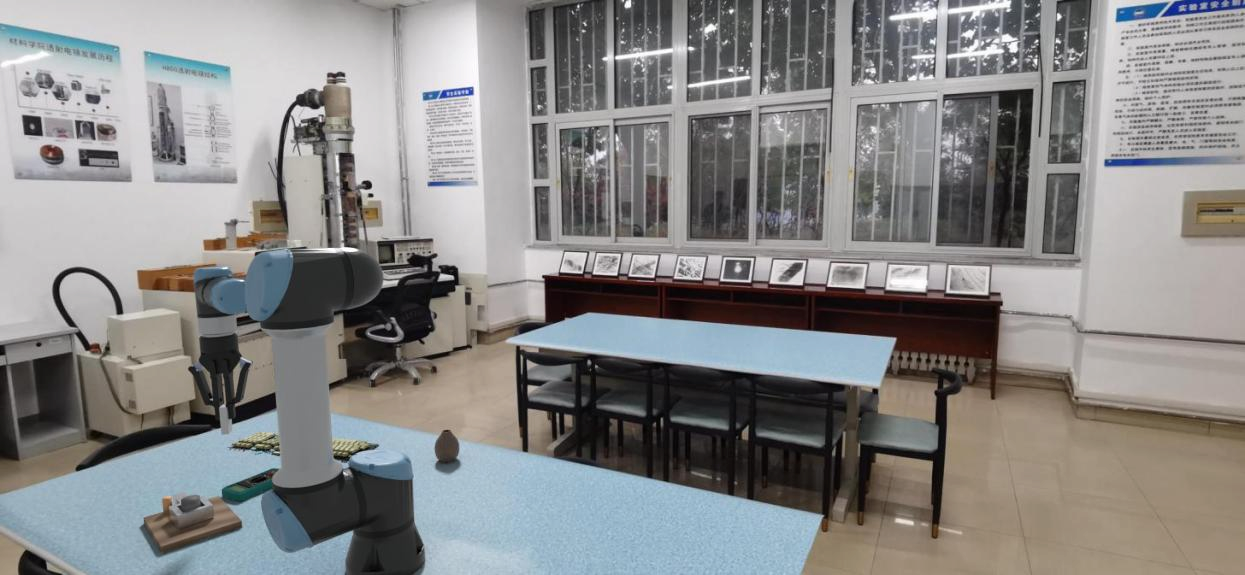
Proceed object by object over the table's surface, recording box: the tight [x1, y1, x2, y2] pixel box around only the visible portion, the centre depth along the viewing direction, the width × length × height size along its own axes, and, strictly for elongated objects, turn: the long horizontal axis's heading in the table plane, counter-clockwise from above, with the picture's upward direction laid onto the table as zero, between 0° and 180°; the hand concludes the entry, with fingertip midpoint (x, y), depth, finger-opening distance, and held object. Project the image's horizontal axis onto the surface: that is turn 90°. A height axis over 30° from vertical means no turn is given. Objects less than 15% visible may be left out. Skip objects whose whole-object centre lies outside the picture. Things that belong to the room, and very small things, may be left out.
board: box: [143, 494, 243, 554], centre depth 143 cm, size 18×15×6 cm
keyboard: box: [227, 431, 380, 464], centre depth 189 cm, size 45×15×2 cm, turn 76°
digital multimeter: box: [221, 467, 280, 503], centre depth 162 cm, size 7×15×3 cm, turn 154°
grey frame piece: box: [169, 491, 214, 529], centre depth 144 cm, size 13×7×3 cm, turn 49°
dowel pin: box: [161, 495, 173, 514], centre depth 146 cm, size 2×2×4 cm
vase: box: [433, 428, 460, 463], centre depth 180 cm, size 7×7×9 cm
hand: (227, 432), depth 147 cm, fingers closed
